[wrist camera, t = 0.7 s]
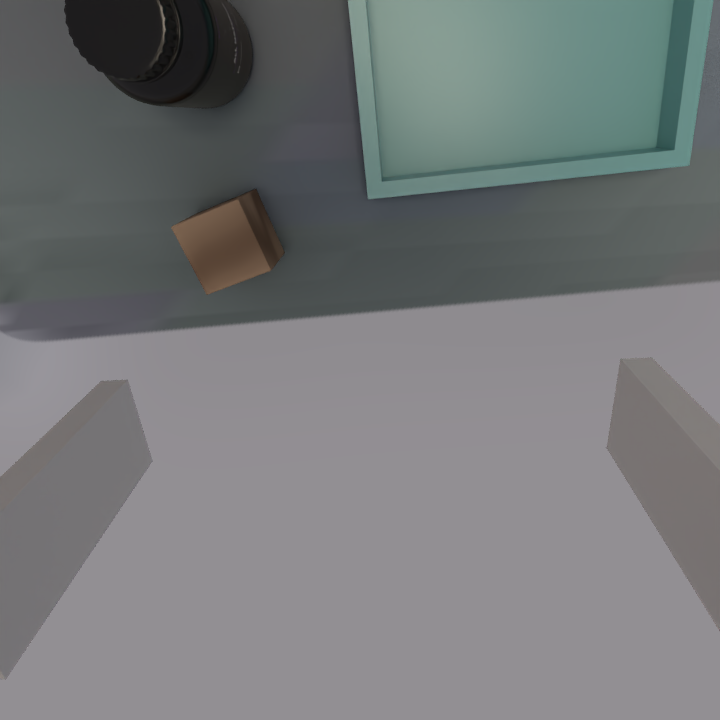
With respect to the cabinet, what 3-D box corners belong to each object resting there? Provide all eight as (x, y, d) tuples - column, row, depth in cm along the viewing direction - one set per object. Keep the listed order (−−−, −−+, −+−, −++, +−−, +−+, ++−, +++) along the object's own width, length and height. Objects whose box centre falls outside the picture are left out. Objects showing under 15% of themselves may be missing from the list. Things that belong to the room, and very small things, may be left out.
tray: (333, -180, 29) (326, -215, 26) (714, -249, 27) (756, -296, 24) (370, 191, 38) (368, 199, 35) (663, 160, 36) (689, 165, 32)
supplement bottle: (276, 52, 34) (222, 26, 24) (210, 130, 37) (133, 139, 26) (195, -41, 32) (95, -116, 22) (131, 48, 35) (11, 20, 24)
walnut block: (196, 213, 39) (171, 226, 35) (256, 188, 38) (237, 199, 34) (227, 274, 41) (206, 294, 37) (284, 252, 40) (270, 270, 36)
